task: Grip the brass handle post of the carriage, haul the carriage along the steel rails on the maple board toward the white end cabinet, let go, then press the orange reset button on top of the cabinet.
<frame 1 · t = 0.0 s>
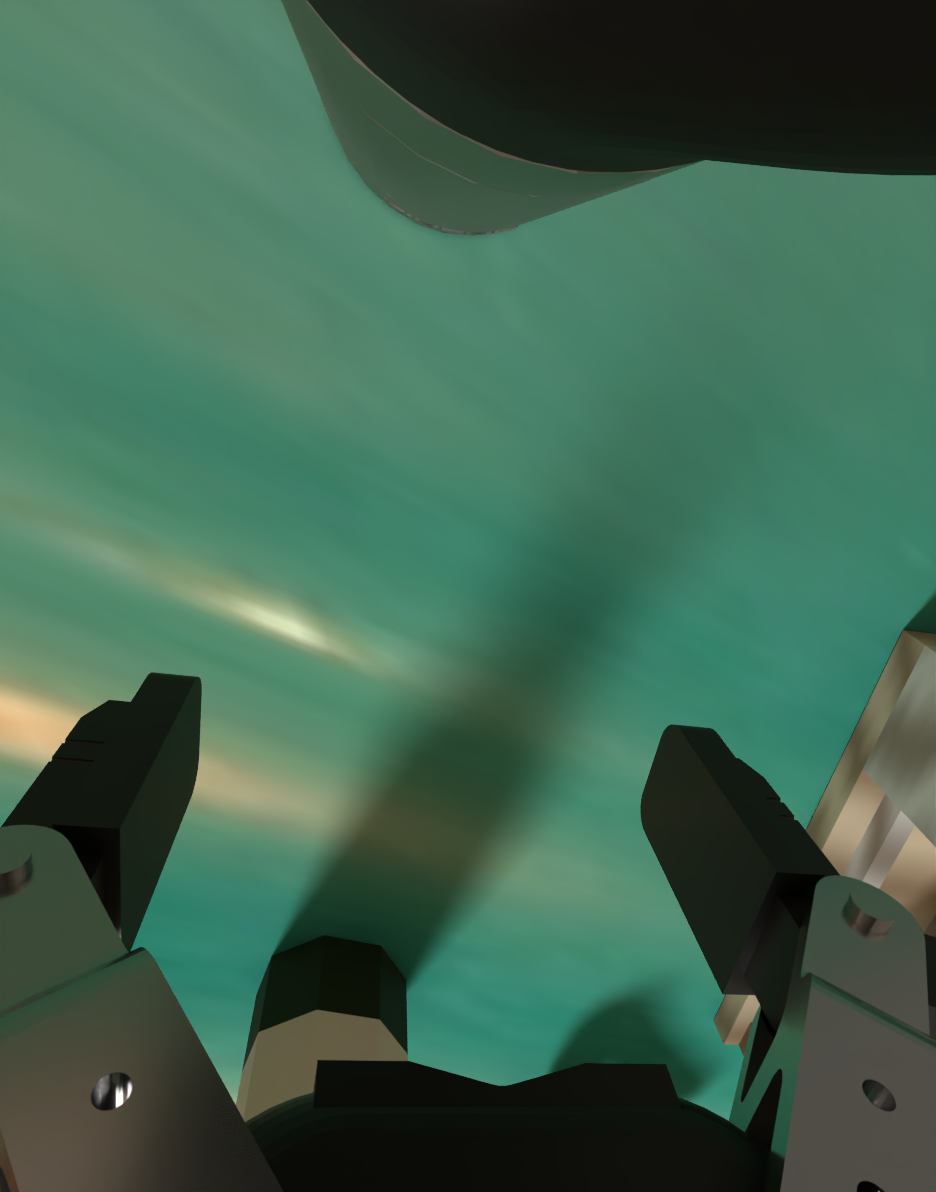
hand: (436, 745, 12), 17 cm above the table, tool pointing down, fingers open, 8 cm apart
rail board: (890, 860, 39), on the table
wine bottle: (332, 984, 40), on the table
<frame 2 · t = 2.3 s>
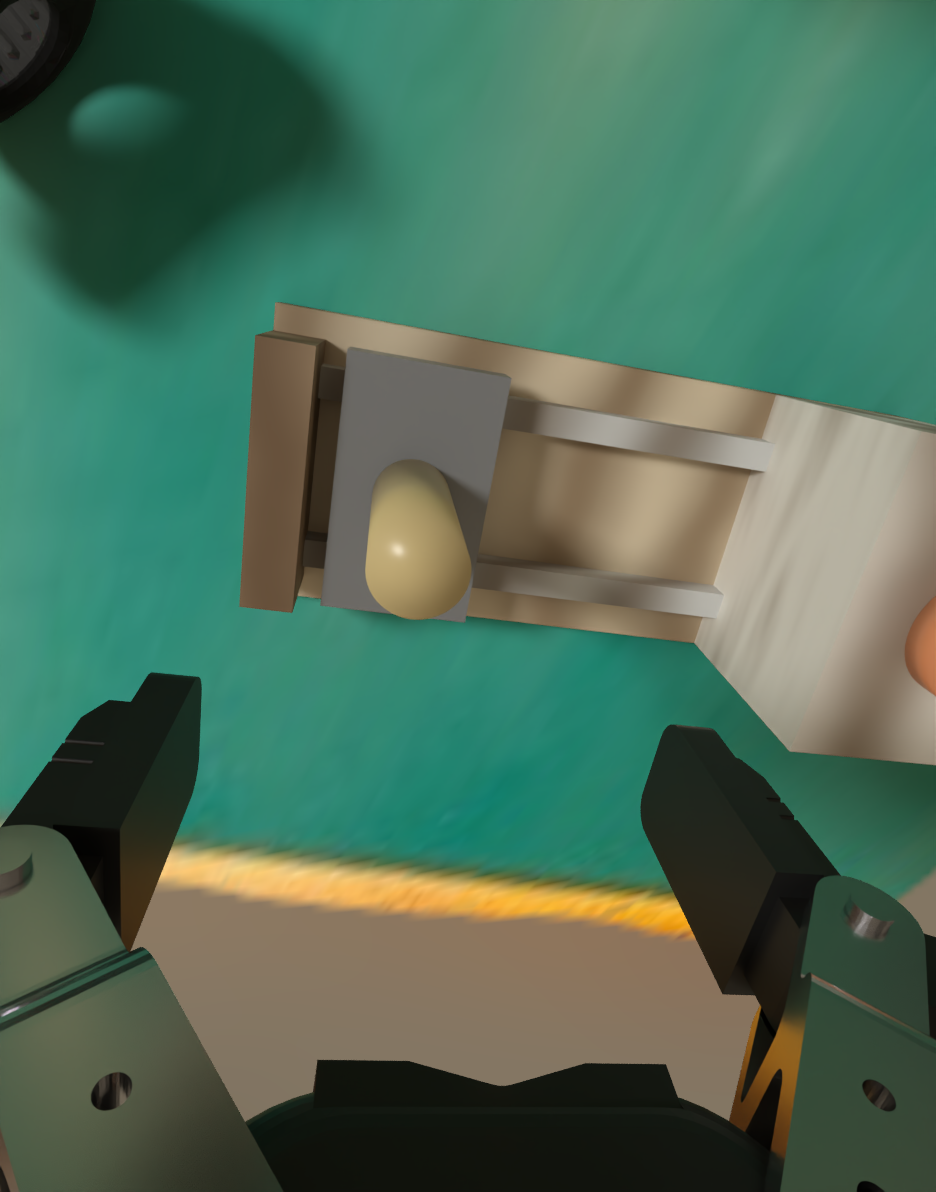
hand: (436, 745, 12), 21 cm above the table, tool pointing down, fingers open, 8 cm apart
rail board: (579, 497, 33), on the table
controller: (2, 64, 24), on the table
carriage: (413, 521, 24), point 8 cm above the table, slide at 5.0 cm
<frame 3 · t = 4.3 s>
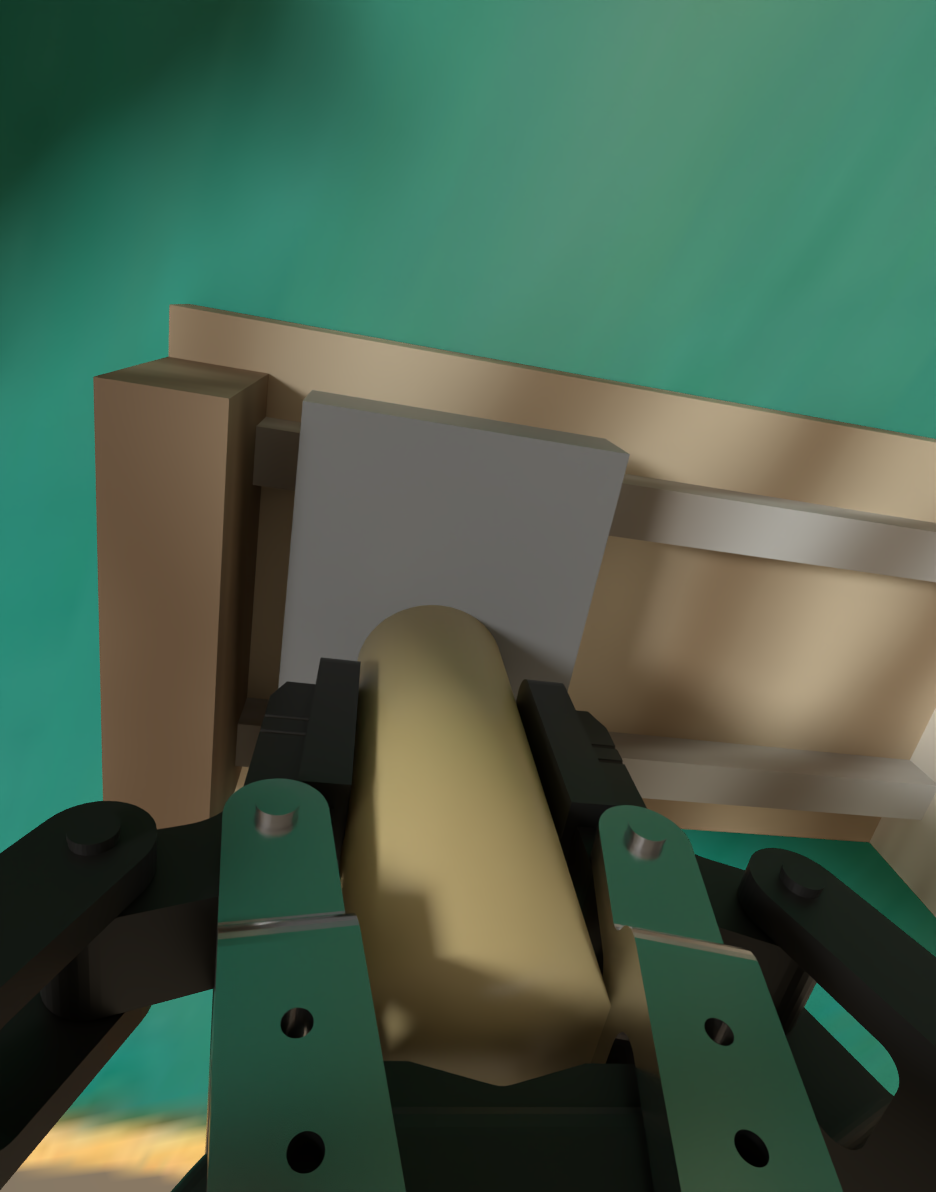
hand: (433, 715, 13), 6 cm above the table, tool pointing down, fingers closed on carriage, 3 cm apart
rail board: (699, 623, 20), on the table
carriage: (440, 766, 11), point 8 cm above the table, slide at 5.0 cm, touching gripper
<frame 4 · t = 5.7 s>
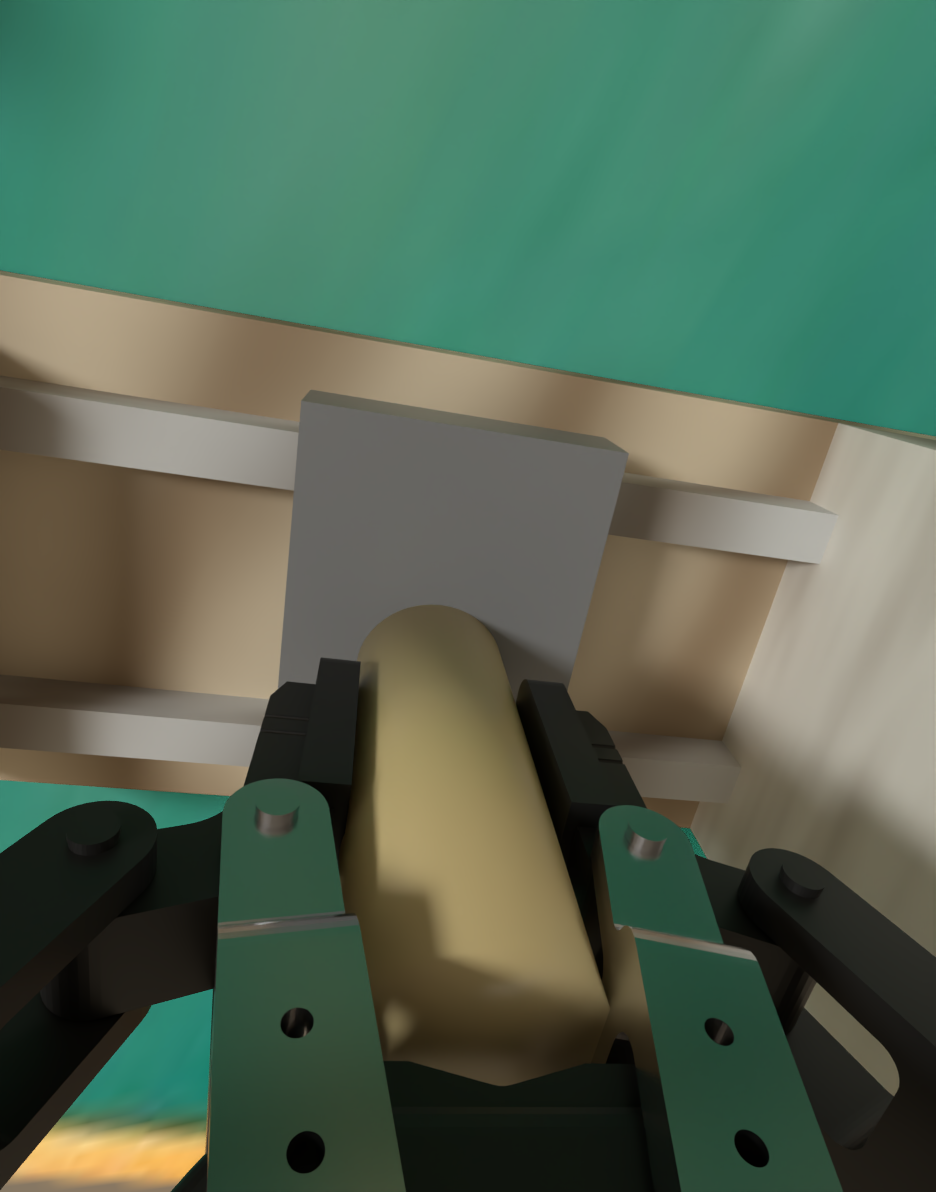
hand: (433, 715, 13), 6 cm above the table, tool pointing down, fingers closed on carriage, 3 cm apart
rail board: (491, 596, 19), on the table
carriage: (439, 766, 11), point 8 cm above the table, slide at -1.1 cm, touching gripper
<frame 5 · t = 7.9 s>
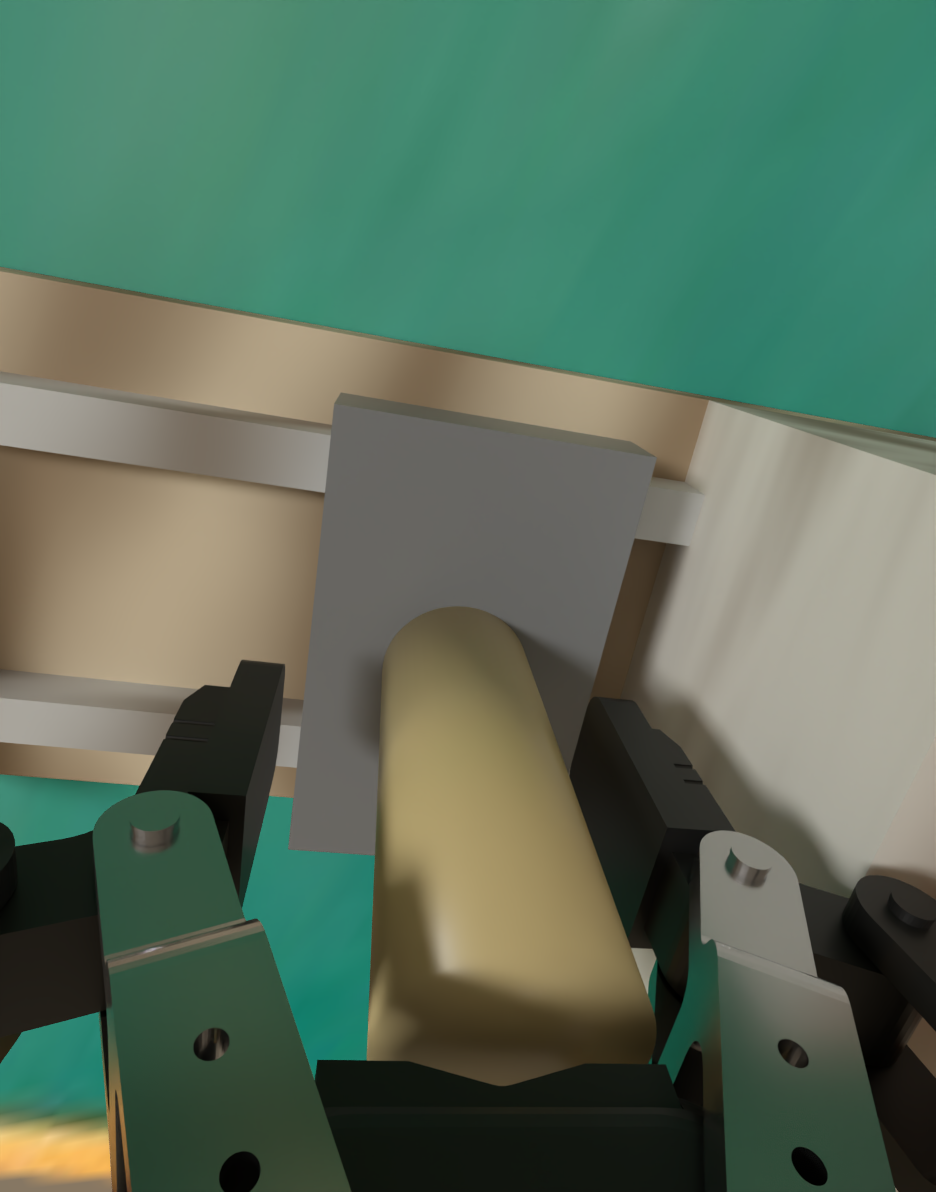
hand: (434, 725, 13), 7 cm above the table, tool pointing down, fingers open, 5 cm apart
rail board: (368, 579, 18), on the table
carriage: (469, 767, 12), point 8 cm above the table, slide at -5.0 cm
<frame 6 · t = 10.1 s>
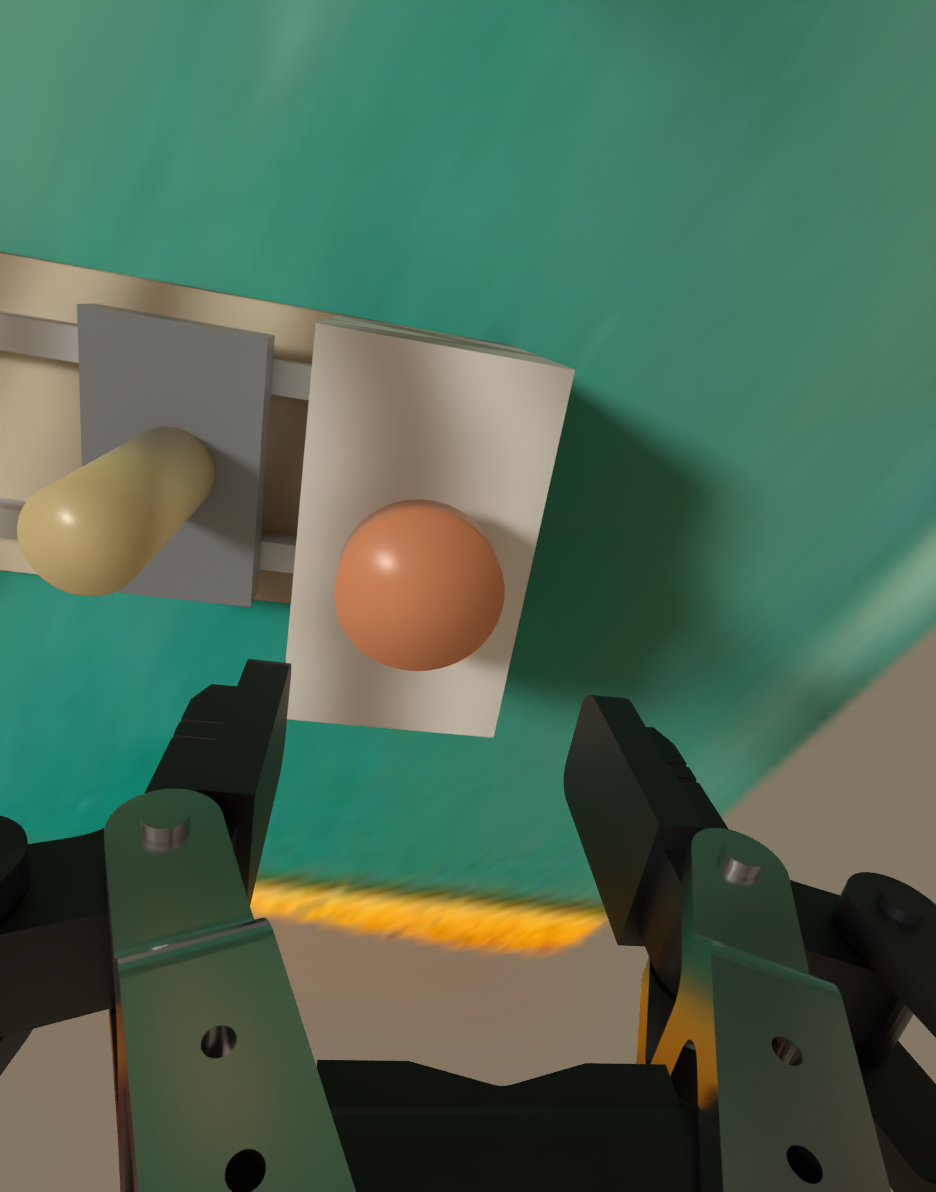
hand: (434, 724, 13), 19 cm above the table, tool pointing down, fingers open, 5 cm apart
rail board: (152, 438, 29), on the table
reset button: (419, 586, 19), point 13 cm above the table, slide at -0.1 cm
carriage: (143, 492, 22), point 8 cm above the table, slide at -5.0 cm
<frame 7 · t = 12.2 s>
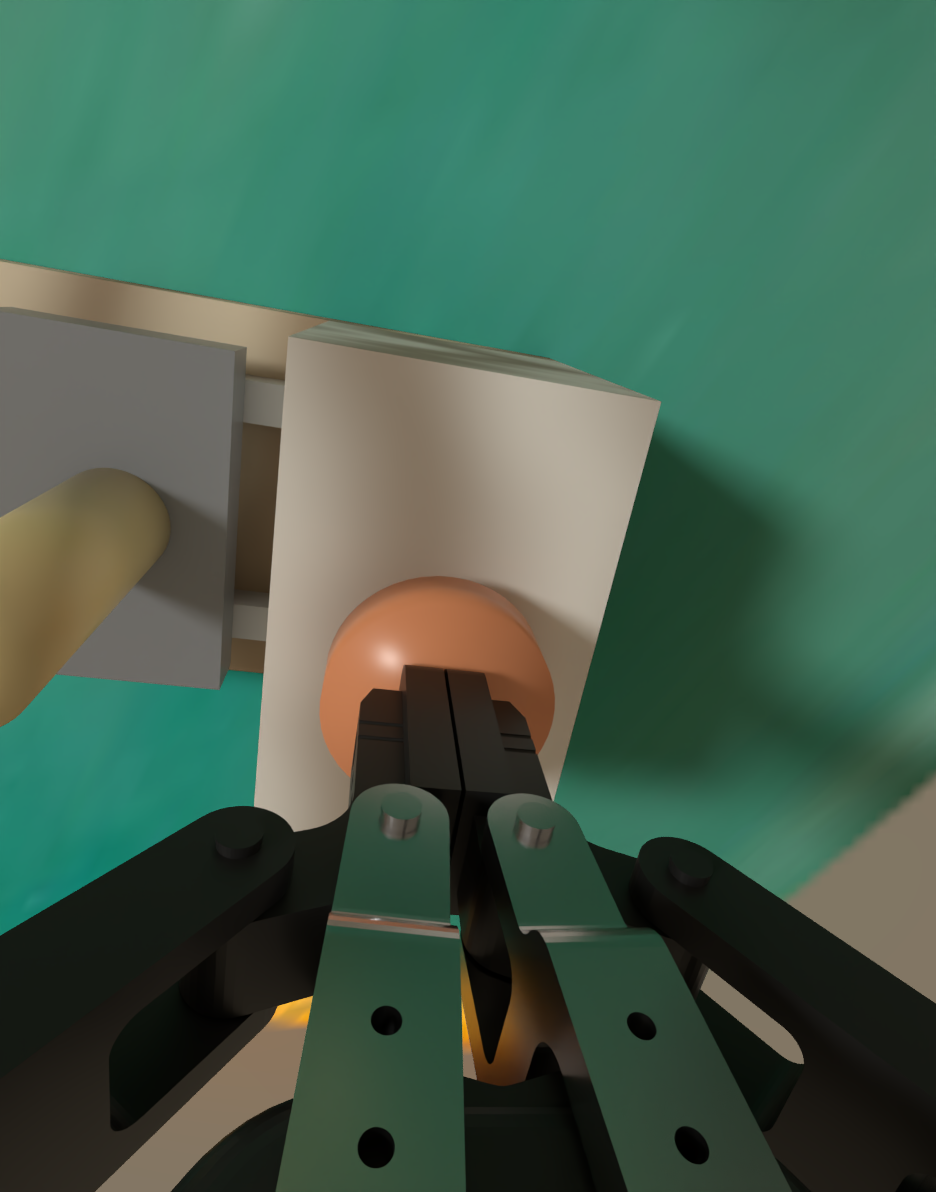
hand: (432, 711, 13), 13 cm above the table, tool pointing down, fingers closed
rail board: (100, 473, 23), on the table
reset button: (436, 693, 14), point 12 cm above the table, slide at 0.6 cm, touching gripper
carriage: (63, 562, 16), point 8 cm above the table, slide at -5.0 cm
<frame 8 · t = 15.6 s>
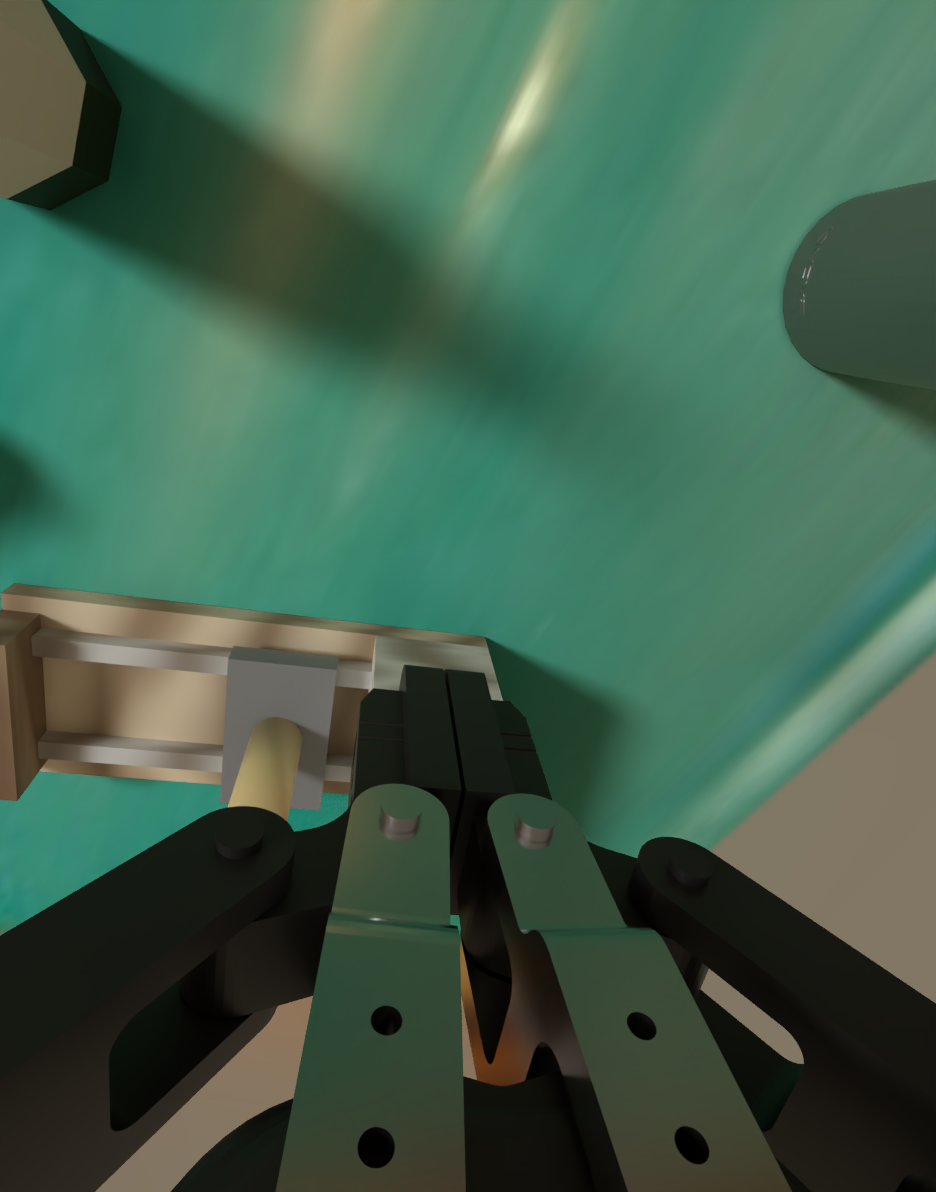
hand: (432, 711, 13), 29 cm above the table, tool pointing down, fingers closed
rail board: (255, 695, 45), on the table
wine bottle: (29, 107, 32), on the table
carriage: (268, 772, 38), point 8 cm above the table, slide at -5.0 cm
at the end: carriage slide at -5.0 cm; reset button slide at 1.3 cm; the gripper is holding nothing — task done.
